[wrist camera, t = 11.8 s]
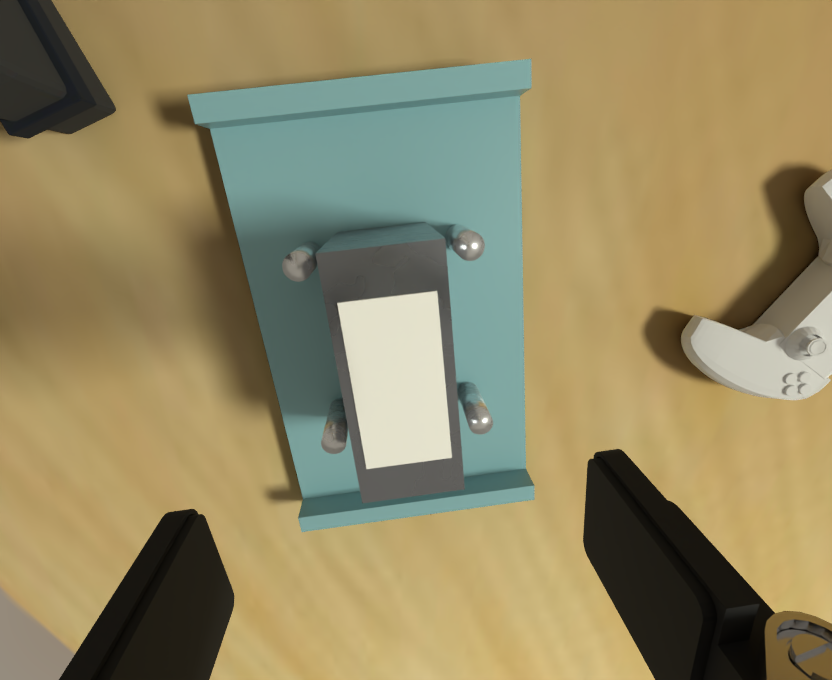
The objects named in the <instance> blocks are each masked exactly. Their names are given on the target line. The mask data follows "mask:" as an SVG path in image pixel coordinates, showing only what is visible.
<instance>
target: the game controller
mask: <svg viewBox="0 0 832 680" xmlns="http://www.w3.org/2000/svg"><path fill="white" fill-rule="evenodd" d="M804 204H805V209H806V213H807V216H808V218H809V221H810V223H811V226H812V228H813V230H814V232H815V234H816V236H817V238H818V243H819V256H818V257H817V258H816V259H815V260H814V261H813V262H812V263H811V264H810V265H809V266H808V267H807V268H806V269H805V270H804V271H803V272H802V274H801V275H800V276H799V277H798V278H797V279H796V280H795V281H794V282H793V283H792V284H791V285H790V286H789V287H788V288H787V289H786V290H785V291H784V293H783V294H782V295H781V296H780V297H779V298H778V299H777V300H776V301H775V302H774V303H773V304H772V305H771V306H770V307H769V308H768V309H767V310H766V311H765V313H764V314H763V315H762V316H761V317H760V318H759V319H758V320H757V321H756V322H755V323H754V324H753V325H752V326H749V327H746V328H743V329H740V330H737V329H734V328H732V327H729V326H727V325H724V324H721V323H719V322H716V321H713V320H710V319H707V318H704V317H701V316H697V315H694V316H693V317H692V318H691V320H690V321H689V323H688V324H687V325H686V327H685V328H684V330H683V332H682V335H681V344H682V348H683V350H684V352H685V354H686V356H687V358H688V359H689V360H690V361H691V362H692V364H694V365H695V366H696V367H697V368H698V369H699V370H700V371H701V372H702V373H704V374H705V375H707V376H708V377H709V378H711V379H712V380H714V381H716V382H718V383H719V384H722V385H724V386H726V387H728V388H731V389H734V390H737V391H740V392H743V393H746V394H750V395H754V396H759V397H766V398H775V399H785V400H799V399H806V398H808V397H810V396H812V395H813V394H815V393H817V392H819V391H820V390H821V389H822V388H823V387H824V386H825V385H827V384H828V383H829V382H830V381H831V380H830V379H828V377H829V376H830V375H831V374H832V170H830V171H828V172H826V173H825V174H823V175H822V176H821V177H819V178H818V179H817V180H816V181H815V182H814V183H813V184H812V185H811V186H810V187H809V188H808V189H806V191H805V194H804Z"/></svg>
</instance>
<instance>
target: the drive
mask: <svg viewBox="0 0 832 680" xmlns="http://www.w3.org/2000/svg"><path fill="white" fill-rule="evenodd" d="M315 254H316V259H317V265H318V270H319V275H320V281H321V286H322V291H323V297H324V302H325V307H326V313H327V318H328V323H329V329H330V334H331V339H332V344H333V350H334V355H335V360H336V366H337V371H338V376H339V382H340V387H341V392H342V398H343V403H344V408H345V414H346V419H347V424H348V430H349V435H350V440H351V446H352V451H353V456H354V462H355V467H356V472H357V478H358V483H359V488H360V494H361V499H362V503H369V502H376V501H384V500H391V499H398V498H406V497H413V496H420V495H428V494H435V493H442V492H450V491H457V490H464V489H465V485H464V472H463V459H462V446H461V433H460V420H459V408H458V395H457V382H456V369H455V356H454V343H453V330H452V318H451V305H450V292H449V279H448V266H447V253H446V241H445V238H444V237H443V236H442V235H441V234H439V233H438V232H437V231H436V230H435V229H433V228H432V227H431V226H430V225H429V224H428V223H426V222H420V223H411V224H403V225H394V226H385V227H376V228H368V229H359V230H350V231H342V232H337V233H336V234H335V235H334V236H333V237H332V238H331V239H330V240H329V241H328V242H327V243H325V244H324V245H323V246H322V247H321V248H320V249H319V250H318V251H317V252H316V253H315Z"/></svg>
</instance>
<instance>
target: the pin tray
mask: <svg viewBox="0 0 832 680" xmlns="http://www.w3.org/2000/svg"><path fill="white" fill-rule="evenodd" d="M529 89H531V59H525V60H516V61H506V62H497V63H487V64H477V65H468V66H458V67H449V68H439V69H430V70H420V71H410V72H401V73H391V74H382V75H372V76H363V77H353V78H344V79H334V80H324V81H315V82H305V83H296V84H286V85H277V86H267V87H257V88H248V89H238V90H229V91H219V92H210V93H200V94H190V95H187V96H188V99H189V103H190V107H191V111H192V115H193V118H194V122H195V124H196V125H199V126H202V127H205V128H208V129H210V131H211V135H212V139H213V143H214V147H215V151H216V155H217V159H218V163H219V167H220V171H221V175H222V179H223V183H224V187H225V191H226V195H227V199H228V203H229V207H230V211H231V215H232V219H233V223H234V227H235V231H236V235H237V239H238V242H239V246H240V250H241V254H242V258H243V262H244V266H245V270H246V274H247V278H248V282H249V286H250V290H251V294H252V298H253V302H254V306H255V310H256V314H257V318H258V322H259V326H260V330H261V334H262V338H263V342H264V346H265V350H266V354H267V358H268V362H269V366H270V370H271V374H272V378H273V382H274V386H275V390H276V393H277V397H278V401H279V405H280V409H281V413H282V417H283V421H284V425H285V429H286V433H287V437H288V441H289V445H290V449H291V453H292V457H293V461H294V465H295V469H296V473H297V477H298V481H299V485H300V489H301V493H302V497H303V501H302V505H301V509H300V513H299V517H298V519H299V523H300V527H301V531H302V532H305V531H313V530H320V529H327V528H334V527H341V526H348V525H356V524H363V523H370V522H377V521H384V520H391V519H399V518H406V517H413V516H420V515H427V514H435V513H442V512H449V511H456V510H463V509H470V508H478V507H485V506H492V505H499V504H506V503H514V502H521V501H528V500H534V484H533V482H532V480H531V478H530V476H529V474H528V472H527V470H526V451H525V388H524V325H523V261H522V198H521V135H520V95H522V94H523V93H525V92H526V91H528V90H529ZM420 222H426V223H428V224H429V225H430V226H431V227H432V228H433V229H435V230H436V231H437V232H438V233H439V234H441V235H442V236H443V237H444V238H445V241H446V253H447V266H448V279H449V292H450V305H451V318H452V330H453V343H454V356H455V369H456V382H457V395H458V408H459V420H460V433H461V446H462V459H463V472H464V485H465V489H464V490H457V491H450V492H442V493H435V494H428V495H420V496H413V497H406V498H398V499H391V500H384V501H376V502H369V503H362V499H361V494H360V488H359V483H358V478H357V472H356V467H355V462H354V456H353V451H352V446H351V440H350V435H349V430H348V424H347V419H346V414H345V408H344V403H343V398H342V392H341V387H340V382H339V376H338V371H337V366H336V360H335V355H334V350H333V344H332V339H331V334H330V329H329V323H328V318H327V313H326V307H325V302H324V297H323V291H322V286H321V281H320V275H319V270H318V265H317V259H316V254H315V253H316V252H317V251H318V250H319V249H320V248H321V247H322V246H323V245H324V244H325V243H327V242H328V241H329V240H330V239H331V238H332V237H333V236H334V235H335V234H336V233H337V232H342V231H350V230H359V229H368V228H376V227H385V226H394V225H403V224H411V223H420Z"/></svg>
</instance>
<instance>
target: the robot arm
mask: <svg viewBox="0 0 832 680" xmlns="http://www.w3.org/2000/svg"><path fill="white" fill-rule="evenodd" d="M583 543H584V548H585V551H586V554H587V556H588V558H589V560H590V562H591V564H592V565H593V567H594V569H595V571H596V573H597V574H598V576H599V578H600V580H601V582H602V584H603V585H604V587H605V589H606V591H607V593H608V594H609V596H610V598H611V600H612V602H613V604H614V605H615V607H616V609H617V611H618V613H619V614H620V616H621V618H622V620H623V622H624V624H625V625H626V627H627V629H628V631H629V633H630V634H631V636H632V638H633V640H634V642H635V643H636V645H637V647H638V649H639V651H640V653H641V654H642V656H643V658H644V660H645V662H646V663H647V665H648V667H649V669H650V671H651V673H652V674H653V676H654V678H655V680H832V624H831V623H829V622H827V621H824V620H822V619H820V618H818V617H816V616H812V615H809V614H805V613H802V612H794V611H783V612H779V613H774V612H773V610H772V609H771V608H770V607H769V606H768V605H767V604H766V603H765V602H764V601H763V599H762V598H761V597H760V596H759V595H758V594H757V593H756V592H755V591H754V590H753V588H752V587H751V586H750V585H749V584H748V583H747V582H746V581H745V580H744V579H743V577H742V576H741V575H740V574H739V573H738V572H737V571H736V570H735V569H734V568H733V566H732V565H731V564H730V563H729V562H728V561H727V560H726V559H725V558H724V557H723V555H722V554H721V553H720V552H719V551H718V550H717V549H716V548H715V547H714V546H713V544H712V543H711V542H710V541H709V540H708V539H707V538H706V537H705V536H704V535H703V533H702V532H701V531H700V530H699V529H698V528H697V527H696V526H695V525H694V524H693V522H692V521H691V520H690V519H689V518H688V517H687V516H686V515H685V514H684V513H683V511H682V510H681V509H680V508H679V507H678V506H677V505H675V504H674V503H673V502H671V501H668V500H666V498H665V497H664V496H663V495H662V494H661V493H660V492H659V491H658V490H657V488H656V487H655V486H654V485H653V484H652V483H651V482H650V481H649V479H648V478H647V477H646V476H645V475H644V474H643V473H642V472H641V470H640V469H639V468H638V467H637V466H636V465H635V464H634V463H633V462H632V460H631V459H630V458H629V457H628V456H627V455H626V454H625V453H624V452H623V451H622V450H620V449H615V450H608V451H601V452H596V453H595V455H594V459H590V460H589V461H588V468H587V485H586V502H585V519H584V536H583ZM233 607H234V593H233V590H232V587H231V584H230V582H229V579H228V576H227V574H226V571H225V568H224V566H223V563H222V560H221V558H220V555H219V553H218V550H217V547H216V545H215V542H214V539H213V537H212V534H211V531H210V529H209V526H208V523H207V521H206V518H205V516H204V515H203V514H199V515H198V513H197V511H196V510H194V509H189V510H181V511H174V512H168V513H166V514H165V515H164V516H163V517H162V519H161V521H160V522H159V524H158V525H157V527H156V528H155V530H154V532H153V533H152V535H151V536H150V538H149V539H148V541H147V542H146V544H145V546H144V547H143V549H142V550H141V552H140V553H139V555H138V557H137V558H136V560H135V561H134V563H133V564H132V566H131V568H130V569H129V571H128V572H127V574H126V575H125V577H124V579H123V580H122V582H121V583H120V585H119V586H118V588H117V590H116V591H115V593H114V594H113V596H112V597H111V599H110V600H109V602H108V604H107V605H106V607H105V608H104V610H103V611H102V613H101V615H100V616H99V618H98V619H97V621H96V622H95V624H94V626H93V627H92V629H91V630H90V632H89V633H88V635H87V637H86V638H85V640H84V641H83V643H82V644H81V646H80V648H79V649H78V651H77V652H76V654H75V655H74V657H73V658H72V661H71V662H70V663H69V665H68V666H67V668H66V670H65V671H64V673H63V674H62V676H61V677H60V679H59V680H209V679H210V676H211V673H212V670H213V667H214V664H215V661H216V658H217V655H218V652H219V649H220V646H221V643H222V640H223V637H224V634H225V631H226V628H227V625H228V622H229V620H230V617H231V614H232V611H233Z"/></svg>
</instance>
